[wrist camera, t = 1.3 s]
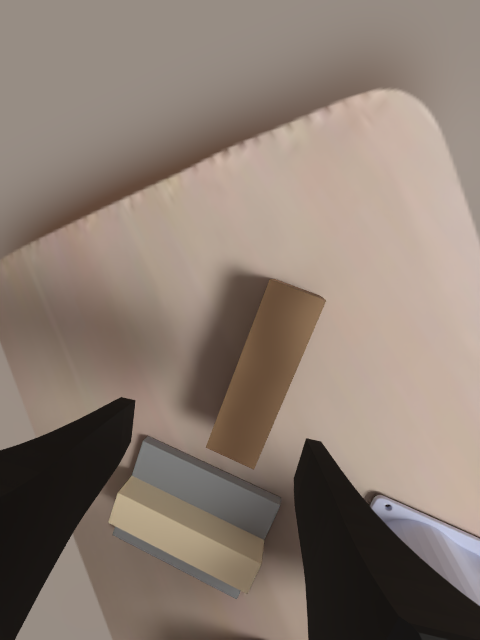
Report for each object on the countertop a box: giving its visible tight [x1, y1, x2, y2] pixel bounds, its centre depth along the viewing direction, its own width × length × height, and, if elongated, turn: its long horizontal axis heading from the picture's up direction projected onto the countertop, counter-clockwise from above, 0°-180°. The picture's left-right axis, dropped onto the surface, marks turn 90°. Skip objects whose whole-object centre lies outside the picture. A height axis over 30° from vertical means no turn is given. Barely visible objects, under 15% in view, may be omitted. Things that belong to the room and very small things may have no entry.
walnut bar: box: [206, 279, 326, 469], centre depth 20 cm, size 4×12×4 cm, turn 160°
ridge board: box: [108, 436, 281, 599], centre depth 24 cm, size 12×10×3 cm
